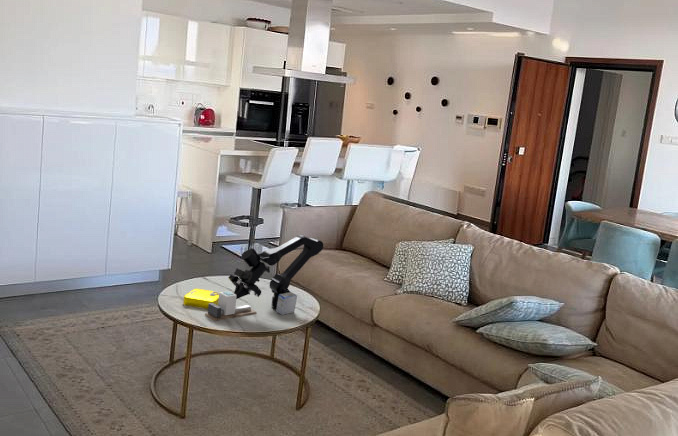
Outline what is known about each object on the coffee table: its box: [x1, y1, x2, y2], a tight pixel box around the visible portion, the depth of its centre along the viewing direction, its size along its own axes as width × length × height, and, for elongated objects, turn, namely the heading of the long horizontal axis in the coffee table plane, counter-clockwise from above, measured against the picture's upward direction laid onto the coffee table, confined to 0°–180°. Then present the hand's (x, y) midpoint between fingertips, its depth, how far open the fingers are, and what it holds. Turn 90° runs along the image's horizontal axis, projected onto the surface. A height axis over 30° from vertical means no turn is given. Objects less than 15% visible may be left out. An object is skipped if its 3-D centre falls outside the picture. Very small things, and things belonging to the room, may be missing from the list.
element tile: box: [182, 287, 220, 310], centre depth 316 cm, size 15×15×5 cm
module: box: [218, 291, 237, 315], centre depth 303 cm, size 5×6×9 cm
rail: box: [207, 303, 252, 318], centre depth 305 cm, size 20×7×5 cm, turn 134°
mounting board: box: [204, 308, 257, 322], centre depth 305 cm, size 22×8×1 cm, turn 134°
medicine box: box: [275, 291, 298, 316], centre depth 316 cm, size 8×4×9 cm, turn 138°
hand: (232, 299), depth 304 cm, fingers closed, pressing on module
